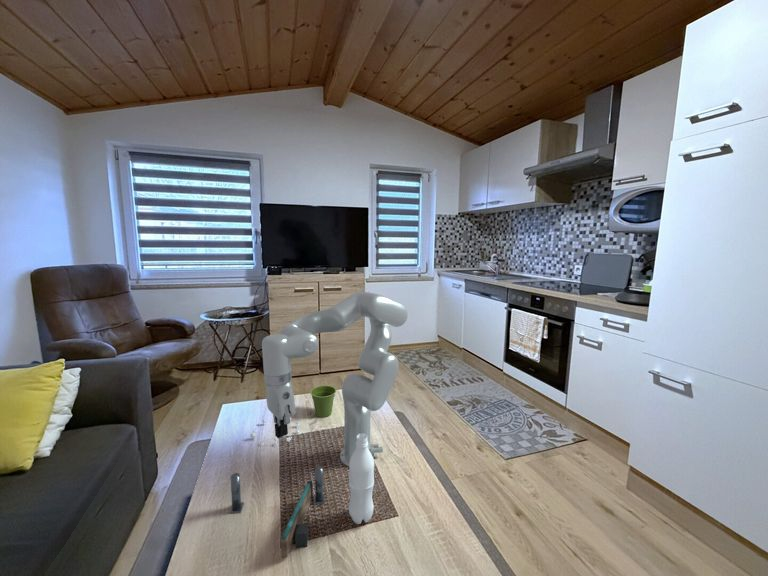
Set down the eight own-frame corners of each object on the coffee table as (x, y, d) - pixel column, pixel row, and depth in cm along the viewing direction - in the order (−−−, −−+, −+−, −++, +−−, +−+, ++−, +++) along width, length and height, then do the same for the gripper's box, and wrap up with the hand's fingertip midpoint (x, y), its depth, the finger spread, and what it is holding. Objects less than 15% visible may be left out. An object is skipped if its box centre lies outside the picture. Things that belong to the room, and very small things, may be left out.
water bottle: (360, 503, 99) (361, 426, 96) (378, 515, 95) (380, 435, 91) (343, 517, 94) (343, 437, 90) (361, 532, 89) (362, 447, 86)
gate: (308, 496, 100) (308, 478, 100) (313, 496, 100) (313, 479, 99) (281, 556, 81) (280, 535, 80) (287, 557, 81) (286, 536, 80)
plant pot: (309, 409, 155) (309, 386, 153) (334, 406, 158) (334, 384, 157) (311, 422, 144) (311, 398, 142) (338, 418, 147) (338, 395, 146)
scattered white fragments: (248, 451, 123) (248, 442, 122) (253, 424, 142) (253, 415, 141) (301, 444, 128) (301, 435, 128) (299, 418, 147) (299, 410, 147)
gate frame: (324, 495, 102) (324, 464, 100) (323, 544, 85) (323, 508, 84) (232, 505, 97) (231, 472, 96) (212, 559, 81) (210, 520, 79)
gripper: (302, 381, 91) (305, 441, 94) (279, 366, 102) (282, 420, 105) (276, 390, 86) (280, 453, 89) (255, 373, 97) (259, 429, 100)
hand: (281, 435), depth 97 cm, fingers closed
